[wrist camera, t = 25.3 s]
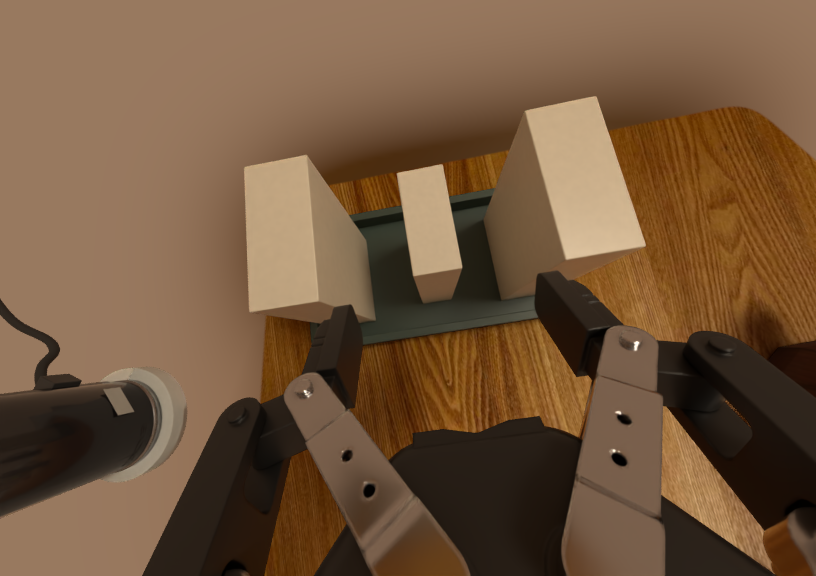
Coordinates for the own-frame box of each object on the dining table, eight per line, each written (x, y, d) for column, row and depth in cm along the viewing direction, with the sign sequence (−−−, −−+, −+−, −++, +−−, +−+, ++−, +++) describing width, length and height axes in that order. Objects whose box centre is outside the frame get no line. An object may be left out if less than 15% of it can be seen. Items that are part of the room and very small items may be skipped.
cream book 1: (339, 326, 31) (248, 312, 16) (331, 246, 32) (243, 166, 18) (376, 320, 30) (318, 301, 16) (366, 240, 32) (306, 154, 17)
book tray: (322, 351, 31) (311, 352, 28) (311, 232, 33) (301, 223, 31) (567, 313, 29) (580, 311, 27) (536, 191, 32) (544, 178, 29)
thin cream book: (423, 304, 30) (412, 276, 17) (412, 241, 31) (396, 172, 19) (451, 299, 30) (462, 268, 17) (440, 236, 31) (442, 163, 19)
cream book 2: (501, 300, 29) (565, 260, 15) (483, 219, 31) (524, 109, 16) (540, 294, 29) (647, 246, 14) (520, 212, 31) (596, 94, 16)
